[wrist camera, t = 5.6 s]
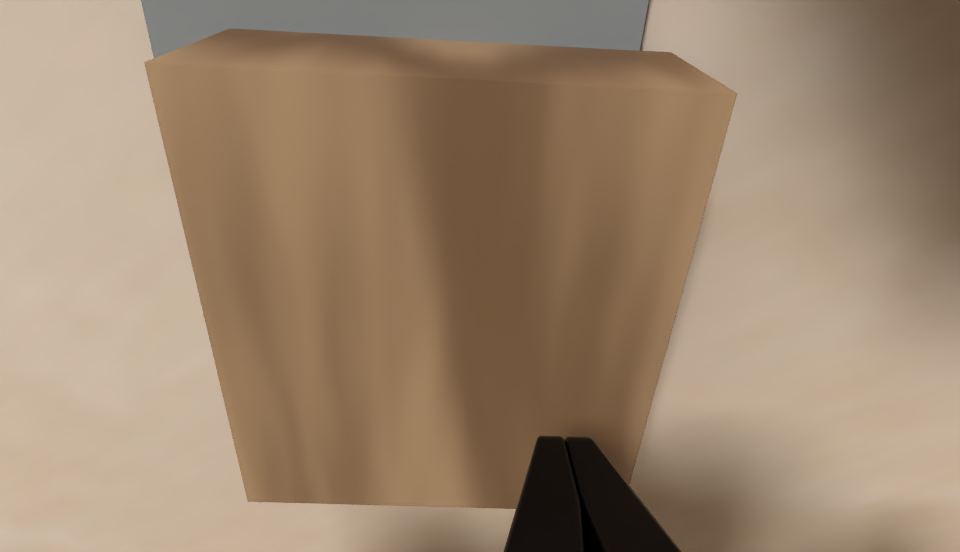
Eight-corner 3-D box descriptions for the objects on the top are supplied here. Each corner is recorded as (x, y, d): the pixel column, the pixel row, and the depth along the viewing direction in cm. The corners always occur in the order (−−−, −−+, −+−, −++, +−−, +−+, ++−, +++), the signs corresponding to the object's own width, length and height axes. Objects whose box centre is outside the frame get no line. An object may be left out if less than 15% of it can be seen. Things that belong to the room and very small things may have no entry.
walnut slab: (737, 93, 9) (137, 62, 9) (621, 511, 14) (243, 501, 14) (671, 52, 12) (224, 27, 12) (595, 409, 17) (284, 399, 17)
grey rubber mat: (656, -62, 11) (660, -62, 11) (563, 448, 18) (564, 455, 18) (127, -95, 11) (119, -96, 11) (244, 438, 18) (241, 445, 18)
